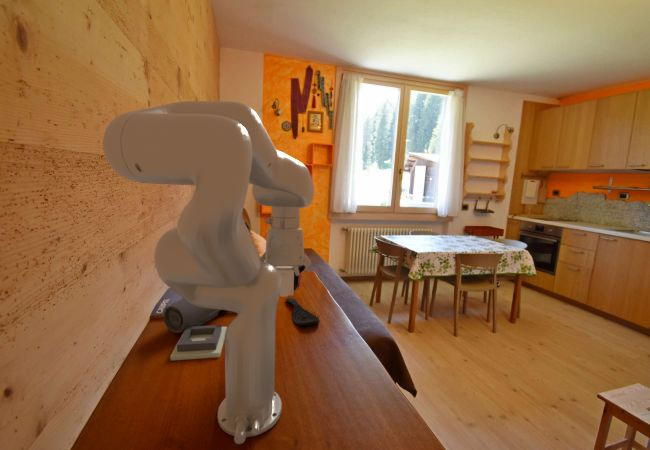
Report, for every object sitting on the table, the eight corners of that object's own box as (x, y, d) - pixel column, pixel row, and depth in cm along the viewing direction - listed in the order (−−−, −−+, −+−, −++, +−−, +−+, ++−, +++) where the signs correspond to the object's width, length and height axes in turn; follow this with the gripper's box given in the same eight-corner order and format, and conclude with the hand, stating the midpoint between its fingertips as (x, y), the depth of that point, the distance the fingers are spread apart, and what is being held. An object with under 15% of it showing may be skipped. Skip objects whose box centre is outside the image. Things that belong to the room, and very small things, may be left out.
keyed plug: (293, 296, 81) (294, 271, 80) (274, 296, 80) (275, 271, 79) (293, 289, 86) (293, 266, 85) (275, 290, 85) (275, 265, 84)
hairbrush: (298, 291, 119) (325, 316, 96) (298, 301, 119) (324, 327, 97) (277, 294, 115) (300, 321, 93) (277, 304, 116) (300, 332, 93)
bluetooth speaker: (218, 306, 110) (213, 279, 109) (238, 307, 107) (234, 279, 106) (164, 336, 89) (158, 303, 88) (188, 338, 86) (182, 304, 85)
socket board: (219, 357, 79) (219, 345, 79) (170, 360, 77) (170, 348, 76) (227, 330, 93) (226, 320, 92) (185, 332, 90) (185, 322, 90)
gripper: (251, 224, 75) (250, 293, 78) (318, 225, 78) (316, 293, 81) (254, 220, 83) (253, 283, 86) (315, 221, 85) (313, 283, 88)
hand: (284, 287), depth 83 cm, fingers closed on keyed plug, 4 cm apart
